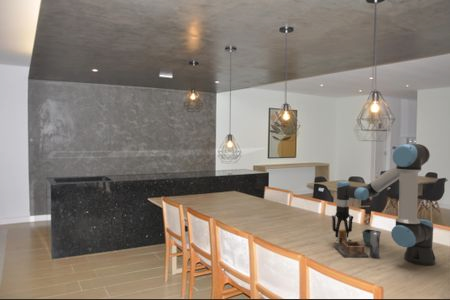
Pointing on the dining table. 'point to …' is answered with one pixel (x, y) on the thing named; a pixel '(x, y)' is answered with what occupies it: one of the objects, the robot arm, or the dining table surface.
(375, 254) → the grey metal cylinder
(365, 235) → the flower pot
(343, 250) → the dock
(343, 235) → the lock pin
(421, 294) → the dining table surface
